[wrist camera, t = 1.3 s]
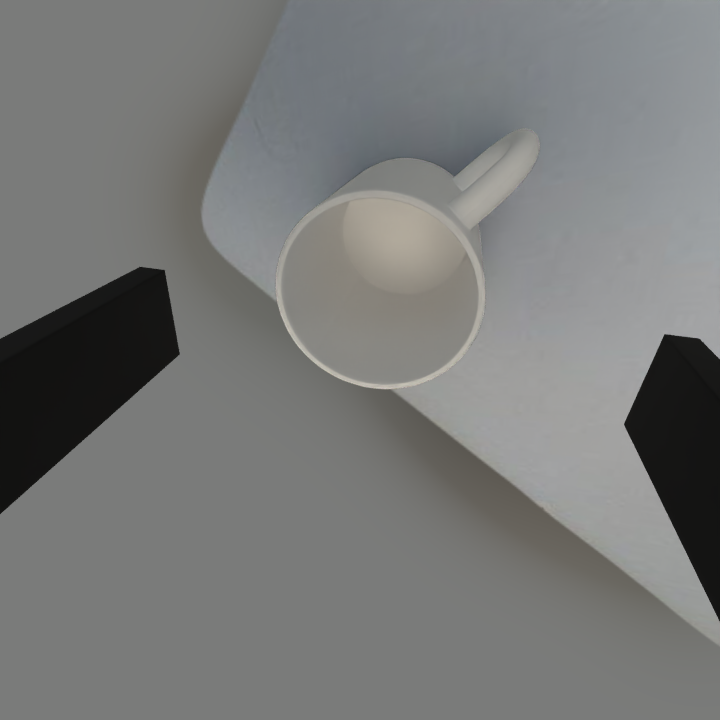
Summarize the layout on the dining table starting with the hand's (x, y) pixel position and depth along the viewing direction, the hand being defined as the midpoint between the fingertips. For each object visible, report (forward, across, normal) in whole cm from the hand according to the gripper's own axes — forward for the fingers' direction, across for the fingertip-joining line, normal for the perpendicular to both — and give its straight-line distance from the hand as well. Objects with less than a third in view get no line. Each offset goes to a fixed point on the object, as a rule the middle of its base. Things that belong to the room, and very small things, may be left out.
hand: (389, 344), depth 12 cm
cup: (+16, 0, 0) cm, 16 cm away
